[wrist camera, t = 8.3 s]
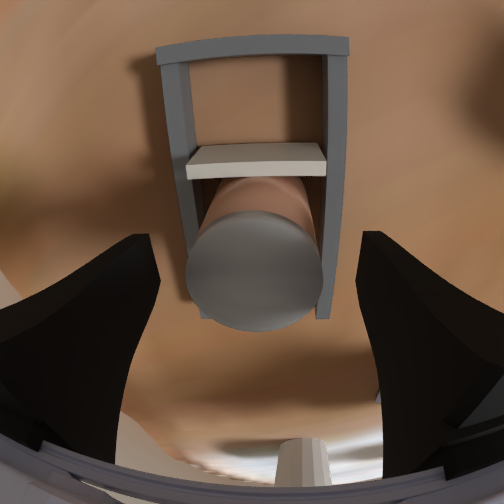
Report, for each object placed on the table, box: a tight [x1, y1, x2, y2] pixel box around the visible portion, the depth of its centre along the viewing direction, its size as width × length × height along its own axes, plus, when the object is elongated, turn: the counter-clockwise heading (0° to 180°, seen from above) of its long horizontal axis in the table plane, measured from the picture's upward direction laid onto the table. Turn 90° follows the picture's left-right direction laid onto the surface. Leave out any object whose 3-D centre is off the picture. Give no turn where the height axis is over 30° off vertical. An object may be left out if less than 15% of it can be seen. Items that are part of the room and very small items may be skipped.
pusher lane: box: [155, 35, 349, 319], centre depth 15 cm, size 15×8×2 cm, turn 3°
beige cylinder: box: [274, 438, 332, 487], centre depth 30 cm, size 7×7×7 cm
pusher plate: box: [186, 143, 326, 179], centre depth 13 cm, size 1×5×3 cm, turn 93°
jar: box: [185, 176, 323, 332], centre depth 13 cm, size 4×4×7 cm
